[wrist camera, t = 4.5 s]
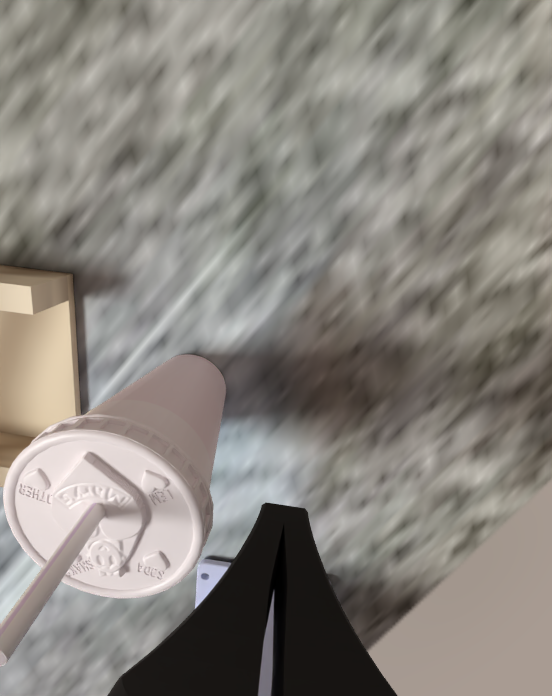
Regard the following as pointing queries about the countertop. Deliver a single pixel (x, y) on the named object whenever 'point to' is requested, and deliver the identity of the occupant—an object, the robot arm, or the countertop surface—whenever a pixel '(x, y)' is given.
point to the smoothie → (118, 491)
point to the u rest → (35, 357)
